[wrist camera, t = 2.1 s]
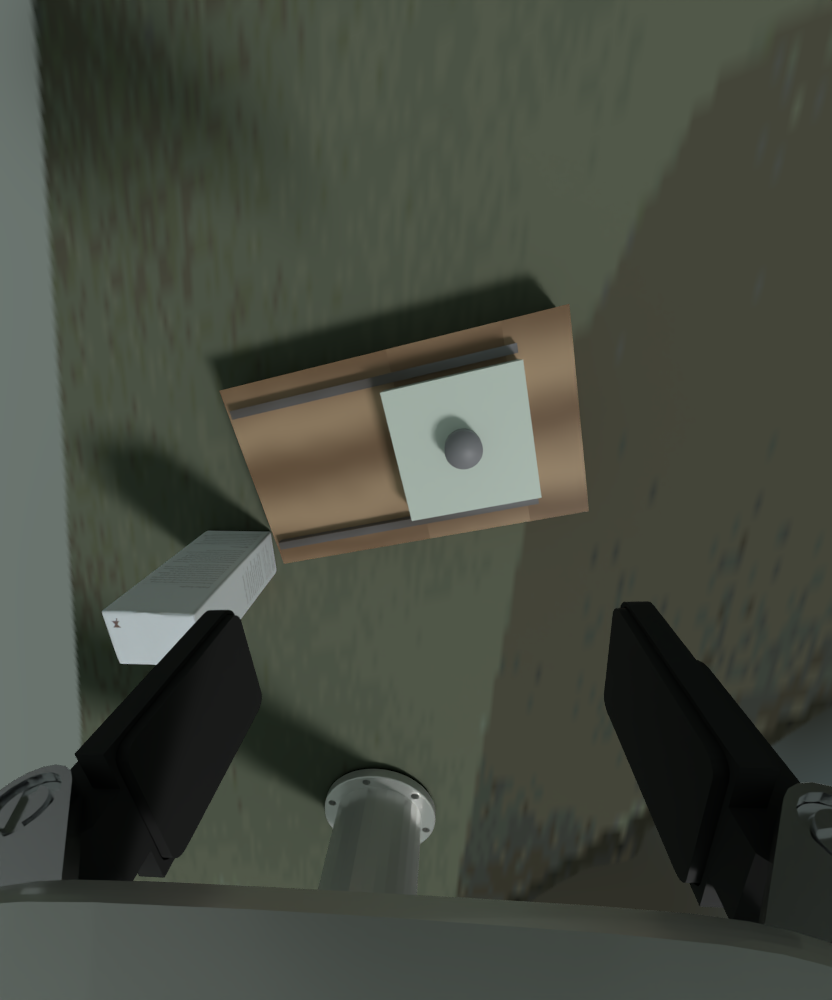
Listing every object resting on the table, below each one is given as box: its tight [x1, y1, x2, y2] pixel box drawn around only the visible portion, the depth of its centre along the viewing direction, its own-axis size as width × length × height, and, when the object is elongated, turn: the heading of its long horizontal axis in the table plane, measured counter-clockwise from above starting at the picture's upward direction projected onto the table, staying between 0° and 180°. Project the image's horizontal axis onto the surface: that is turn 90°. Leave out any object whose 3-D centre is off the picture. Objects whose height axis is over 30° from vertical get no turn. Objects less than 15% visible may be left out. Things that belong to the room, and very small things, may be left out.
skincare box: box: [102, 531, 277, 665], centre depth 31 cm, size 6×4×12 cm
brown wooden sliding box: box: [220, 304, 589, 564], centre depth 30 cm, size 14×24×4 cm, turn 103°
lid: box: [380, 359, 542, 521], centre depth 27 cm, size 9×9×3 cm
